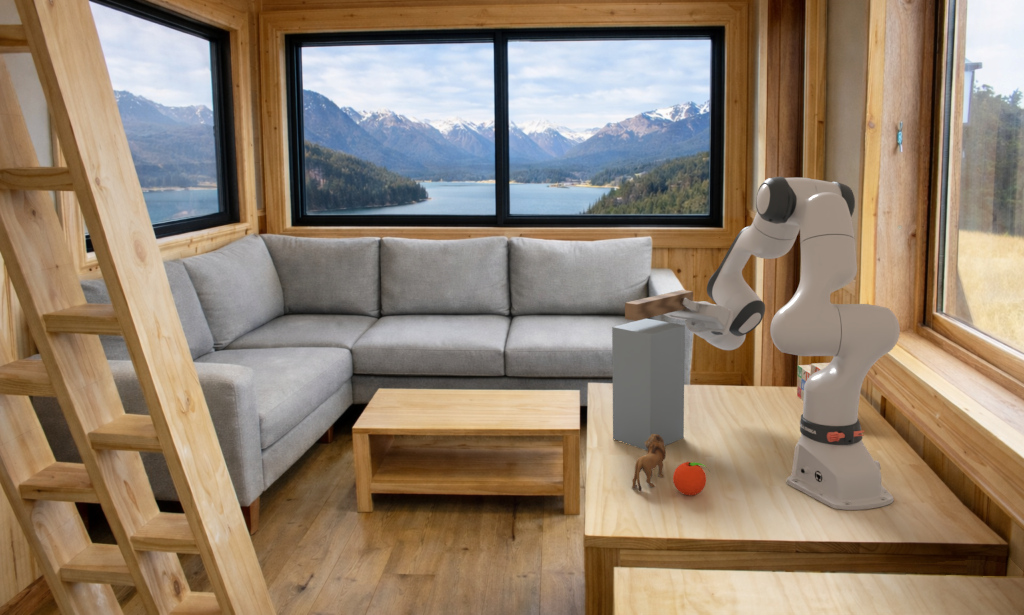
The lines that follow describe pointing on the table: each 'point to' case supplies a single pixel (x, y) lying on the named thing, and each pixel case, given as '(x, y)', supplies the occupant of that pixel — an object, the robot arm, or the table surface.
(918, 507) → the table surface
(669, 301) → the bar
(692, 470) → the clementine
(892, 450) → the table surface
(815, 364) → the stack of blocks
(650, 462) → the lion figurine
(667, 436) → the stand
